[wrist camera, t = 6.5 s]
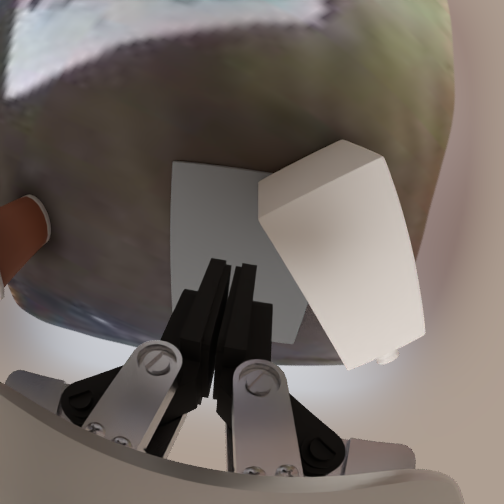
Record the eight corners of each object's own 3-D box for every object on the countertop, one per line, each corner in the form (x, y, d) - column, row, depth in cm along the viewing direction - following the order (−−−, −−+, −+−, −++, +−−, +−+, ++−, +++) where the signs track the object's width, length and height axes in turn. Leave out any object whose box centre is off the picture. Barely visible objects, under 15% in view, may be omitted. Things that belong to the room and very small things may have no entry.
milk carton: (341, 136, 17) (402, 309, 25) (256, 179, 19) (343, 336, 27) (383, 152, 11) (427, 358, 19) (255, 216, 13) (358, 390, 21)
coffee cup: (65, 260, 26) (2, 327, 15) (21, 248, 26) (-36, 300, 15) (53, 184, 21) (-34, 237, 11) (8, 182, 21) (-63, 225, 11)
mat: (174, 160, 20) (172, 161, 19) (340, 186, 20) (342, 188, 19) (174, 320, 28) (173, 324, 28) (292, 340, 28) (293, 344, 28)
